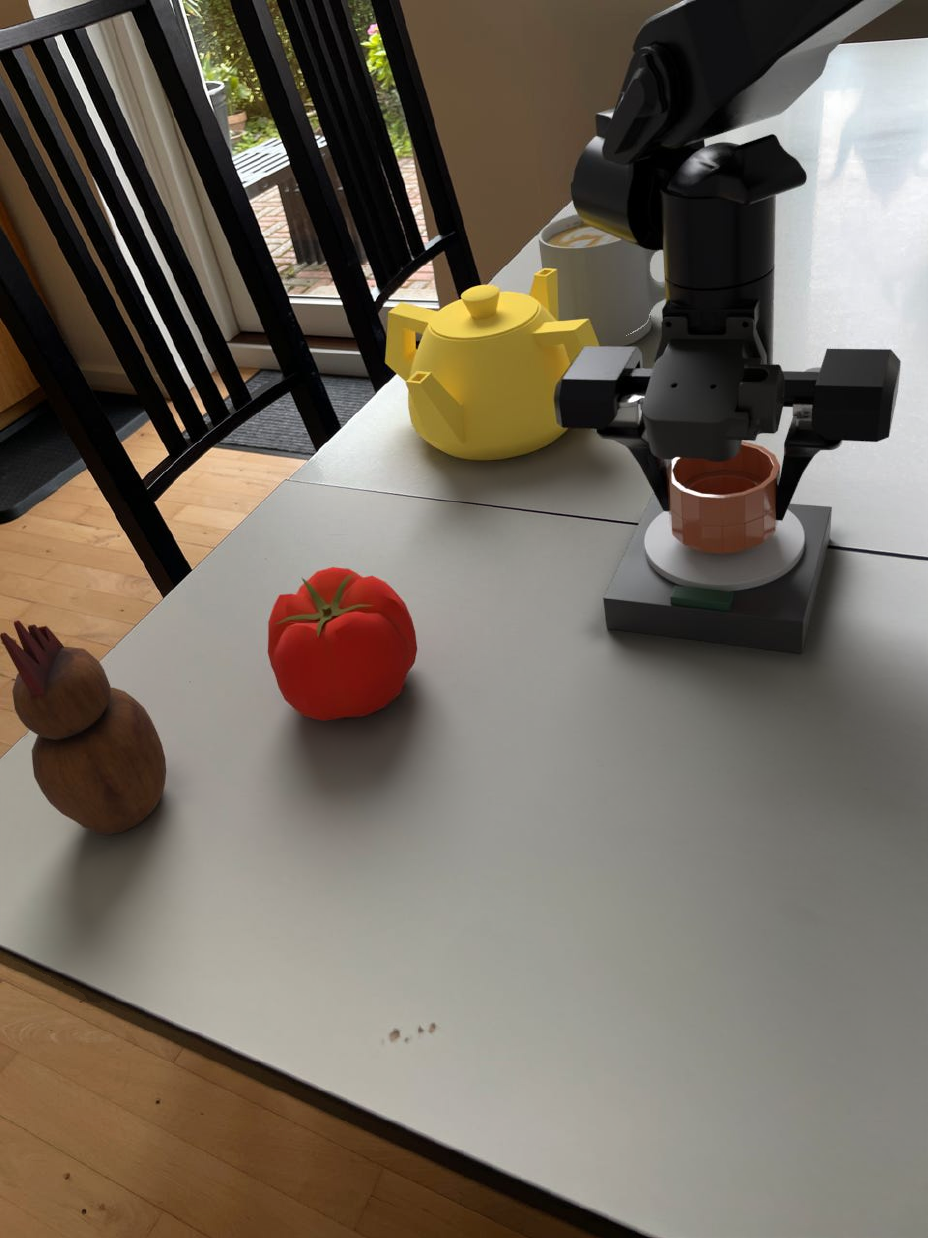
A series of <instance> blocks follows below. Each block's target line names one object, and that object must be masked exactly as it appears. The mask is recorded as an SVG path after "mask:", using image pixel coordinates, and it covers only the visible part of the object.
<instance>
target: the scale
mask: <svg viewBox="0 0 928 1238" xmlns="http://www.w3.org/2000/svg"><path fill="white" fill-rule="evenodd" d="M832 513H833V507H832V506H827V505H816V504H815V505H813V504H799V503H790V504H789V507H788V509H787V511H786V514H785V516H784V518H783V520H782V521H780V520H779V521H778V524H777V528H776V531H775V533H774V534H772V535H771V536H770V537H769V538H768V539H767V540H766V541H765V542H763V543H761V544H759V545H756V546H754V547H752V548H749V549H747V550H743V551H740V552H735V553H727V554H716V553H708V552H702V551H699V550H696V549H694V548H691V547H688V546H686V545H683V544H682V543H681V542H680V541H679V540H678V539H676V538H675V537H674V536H673V534H672V531H671V528H670V524H669V512H665V511H663V509H662V507H661V505H660V503H659V501H658V499H657V498H656V496H655V494H654V493H652V494H651V496H650V498H649V501H648V503H647V504H646V507H645V508H644V511H643V513H642V516H641V518H640V519H639V522H638V524H637V526H636V528H635V530H634V532H633V535H632V536H631V538H630V541H629V543H628V544H627V547H626V549H625V552H624V554H623V555H622V558H621V560H620V562H619V564H618V566H617V569H616V571H615V572H614V574H613V577H612V579H611V581H610V583H609V585H608V588H607V589H606V592H605V594H604V596H603V598H602V599H603V608H604V609H603V610H604V618H605V627H606V629H608V630H615V631H623V632H631V633H632V632H633V633H639V634H647V635H655V636H663V637H669V638H670V637H671V638H677V639H678V638H679V639H686V640H691V641H692V640H694V641H702V642H707V643H717V644H723V645H732V646H739V647H747V648H754V649H762V650H769V651H777V652H786V653H792V654H801V655H802V654H803V651H804V646H805V642H806V639H807V634H808V630H809V626H810V621H811V617H812V613H813V609H814V605H815V601H816V598H817V597H816V596H817V592H818V588H819V584H820V580H821V577H822V572H823V567H824V564H825V559H826V555H827V551H828V547H829V543H830V539H831V529H832V528H831V527H832Z"/></svg>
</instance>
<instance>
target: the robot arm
mask: <svg viewBox="0 0 928 1238" xmlns="http://www.w3.org/2000/svg"><path fill="white" fill-rule="evenodd" d="M902 1H903V0H682V1H680V2H678V3H676V4H674V5H672V6H670V7H668V8H666V9H664V10H662V11H660V12H658V13H656V14H653V15H652V16H651V17H649V18H648V19H646V20H645V21H644V22H643V24H642V25H641V27H640V28H639V29H638V32H637V34H636V37H635V39H634V42H633V45H632V52H633V55H632V57H631V59H630V62H629V64H628V67H627V69H626V74H625V75H624V79H623V82H622V86H621V88H620V92H619V95H618V98H617V100H616V104H615V107H613V108H610V109H607V110H603V111H600V112H597V113H596V114H595V116H594V120H595V131H596V132H595V133H596V135H595V136H594V137H593V138H592V139H591V140H590V141H589V142H588V144H587V145H586V146H585V147H584V149H583V150H582V152H581V154H580V156H579V157H578V159H577V163H576V165H575V168H574V171H573V178H572V181H571V182H570V196H571V201H572V204H573V208H574V209H575V211H576V214H577V213H578V215H579V216H580V218H581V219H582V220H583V221H584V222H585V223H586V224H588V225H590V226H591V227H593V228H595V229H598V230H600V231H603V232H605V233H608V234H610V235H613V236H615V237H618V238H620V239H622V240H625V241H627V242H630V243H632V244H635V245H637V246H640V247H642V248H645V249H649V250H654V251H656V250H659V251H662V252H663V253H662V255H663V274H664V281H665V296H666V299H665V304H664V306H663V307H662V308H661V317H662V321H661V322H660V323H661V324H660V325H661V337H660V340H659V344H658V347H657V350H656V353H655V358H654V361H653V362H654V363H653V364H654V365H653V368H644V363H643V362H644V361H643V353H642V352H641V350H640V348H639V347H638V346H623V347H622V346H584V347H583V349H582V350H581V351H580V352H579V353H578V354H577V355H576V357H575V358H574V359H573V361H572V362H571V364H570V365H569V367H568V368H567V370H566V371H565V373H564V374H563V375H562V377H561V378H560V380H559V381H558V383H557V384H556V386H555V393H554V406H555V414H556V421H557V423H558V424H559V425H560V426H561V427H562V428H568V429H580V430H581V429H582V430H596V434H597V435H598V437H599V438H600V439H602V440H611V441H614V442H616V443H619V444H620V445H622V446H625V447H626V448H627V449H628V451H629V452H630V453H631V455H632V456H633V458H634V459H635V461H636V462H637V464H638V465H639V467H640V468H641V471H642V473H643V474H644V476H645V478H646V480H647V482H648V484H649V486H650V488H651V490H652V493H653V494H655V496H656V498H657V499H658V501H659V503H660V505H661V507H662V509H663V511H665V512H669V508H668V491H667V473H666V471H667V469H668V466H669V464H670V462H671V460H672V459H673V458H675V457H680V458H698V459H707V460H708V461H710V462H724V461H727V460H730V459H732V458H733V457H735V456H736V455H737V454H738V452H739V451H740V448H741V444H742V441H746V442H748V441H749V442H750V441H751V442H755V441H757V438H758V435H760V434H772V435H775V434H776V433H778V431H779V428H780V423H781V417H782V413H783V409H784V408H792V419H791V421H790V423H789V427H788V430H787V434H786V437H785V439H784V443H783V458H782V465H781V468H780V480H779V486H778V492H777V497H776V520H780V521H782V520H783V518H784V516H785V514H786V511H787V509H788V507H789V504H791V502H792V500H793V497H794V496H795V492H796V490H797V488H798V485H799V483H800V481H801V478H802V477H803V474H804V473H805V471H806V470H807V468H808V466H809V465H810V463H811V462H812V460H813V458H814V457H815V456H816V455H817V454H818V453H819V452H820V451H834V450H836V449H838V448H840V447H841V445H842V444H843V442H845V441H846V442H863V443H864V442H866V443H879V442H880V441H883V440H886V439H888V438H890V434H891V428H892V423H893V419H894V414H895V409H896V403H897V398H898V392H899V384H900V375H901V362H902V361H901V360H900V357H898V355H896V353H895V352H894V351H893V349H891V348H889V349H888V348H826V349H825V353H824V356H823V360H822V363H821V366H820V367H810V368H807V369H806V370H804V371H796V370H795V371H791V370H790V371H789V370H788V371H787V370H783V368H782V366H781V364H779V363H778V364H775V363H774V328H775V327H774V324H775V323H774V322H775V275H776V273H775V269H776V266H775V265H776V263H775V261H776V260H775V259H776V258H775V256H776V251H775V250H776V209H777V208H776V202H777V200H776V197H777V195H780V194H782V193H785V192H789V191H792V190H794V189H797V188H800V187H802V186H804V185H805V184H806V183H807V178H808V176H807V175H808V174H807V172H806V170H805V169H804V167H803V166H802V165H801V163H800V161H799V160H798V159H797V158H796V157H795V156H793V155H791V154H790V153H788V152H787V151H786V150H785V148H784V147H783V146H782V144H781V143H780V141H779V138H778V136H777V135H776V134H774V133H770V134H767V135H765V136H762V137H759V138H756V139H753V140H750V141H747V142H744V143H741V144H738V143H734V142H728V141H725V142H724V141H722V142H721V141H719V142H715V143H711V144H709V145H705V144H706V143H705V140H706V139H710V138H712V137H716V136H718V135H722V134H725V133H728V132H731V131H734V130H737V129H740V128H742V127H747V126H749V125H752V124H756V123H758V122H761V121H765V120H768V119H771V118H773V117H776V116H780V115H781V114H783V113H784V112H785V111H786V110H788V109H789V108H790V106H792V105H793V104H794V103H795V102H796V101H797V100H798V99H799V98H800V97H801V96H802V95H803V94H804V93H805V92H806V91H807V90H808V89H809V88H810V87H811V86H813V84H814V83H815V82H816V81H818V79H819V78H820V77H822V75H823V73H824V71H825V68H826V66H827V62H828V59H829V57H830V54H831V53H832V52H833V51H834V50H835V49H836V48H837V47H838V46H839V45H840V44H841V43H842V42H843V41H844V40H845V39H847V37H849V36H850V35H852V34H853V33H856V32H857V31H858V30H860V29H861V28H863V27H865V26H866V25H867V24H869V23H870V22H872V21H874V20H875V19H876V18H878V17H880V16H881V15H882V14H884V13H885V12H887V11H888V10H890V9H892V8H894V7H895V6H896V5H898V4H899V3H901V2H902Z"/></svg>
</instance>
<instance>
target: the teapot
mask: <svg viewBox="0 0 928 1238" xmlns="http://www.w3.org/2000/svg"><path fill="white" fill-rule="evenodd" d="M460 298H461V299H458V300H455V301H453V302H451V303H448V304H447V305H445V306H443V307H442V308H440V309H439V310H434V309H430V308H427V307H423V306H418V305H414V304H411V303H408V302H403V301H400V302H399V303H398V304H397V305H395V306H394V307H393V308H392V309H390V310H389V311H388V313H387V325H386V326H387V327H386V344H385V357H384V363H385V365H387V366H388V368H390V369H391V371H393V372H394V373H395V374H396V375H398V376H399V377H400V378H401V380H403V381H404V382H405V385H406V388H407V405H408V413H409V418H410V423H411V426H412V427H413V429H414V430H415V432H416V433H417V434H418V436H420V438H422V439H423V440H424V441H426V442H427V443H429V444H430V445H431V446H433V447H434V448H436V449H437V450H440V451H441V452H442V453H445V454H447V455H448V456H452V457H454V458H459V459H462V460H469V461H497V460H505V459H511V458H515V457H519V456H523V455H527V454H530V453H532V452H536V451H538V450H540V449H542V448H545V447H546V446H548V445H550V444H552V443H554V442H555V441H557V440H558V439H559V438H560V437H561V436H562V435H564V434H565V433H566V432H567V431H568V429H569V428H562V427H561V426H560V425H559V424H558V423H557V421H556V414H555V406H554V393H555V386H556V384H557V383H558V381H559V380H560V378H561V377H562V375H563V374H564V373H565V371H566V370H567V368H568V367H569V365H570V364H571V362H572V361H573V359H574V358H575V357H576V355H577V354H578V353H579V352H580V351H581V350H582V349H583V347H584V346H600V345H599V343H598V340H597V338H596V335H595V333H594V330H593V327H592V325H591V322H590V320H589V319H579V320H568V321H559V316H558V280H557V269H550V268H544V269H542V268H541V269H540V270H538V271H537V272H536V273H534V274H533V280H532V284H531V287H530V291H529V293H528V294H526V293H522V292H516V291H500V288H499V287H498V286H496V285H492V284H480V285H476V286H472V287H469V288H468V289H466V290H464V291H463V292H462V293H461V295H460ZM416 333H417V334H420V335H422V336H421V339H420V341H419V344H418V347H417V348H416V346H417V345H416Z"/></svg>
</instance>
